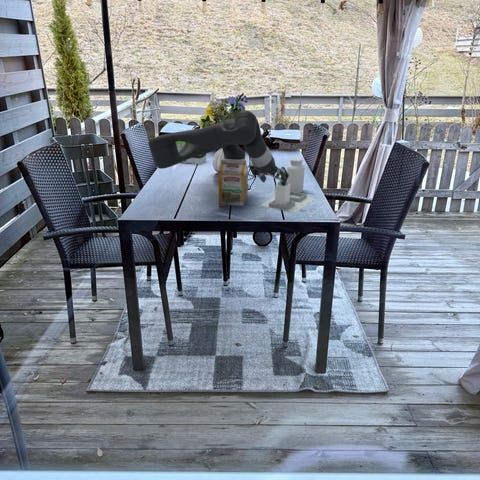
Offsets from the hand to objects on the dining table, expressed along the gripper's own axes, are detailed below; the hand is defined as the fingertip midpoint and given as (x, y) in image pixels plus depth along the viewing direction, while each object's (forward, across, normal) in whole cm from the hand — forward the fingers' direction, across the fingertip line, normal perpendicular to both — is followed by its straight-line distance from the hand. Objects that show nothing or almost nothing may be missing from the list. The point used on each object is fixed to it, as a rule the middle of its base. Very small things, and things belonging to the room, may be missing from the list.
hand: (274, 182), depth 160 cm
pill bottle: (+34, -7, +16) cm, 38 cm away
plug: (+15, -1, -2) cm, 15 cm away
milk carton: (+12, -21, -7) cm, 25 cm away
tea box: (+48, -83, +29) cm, 100 cm away
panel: (+20, -1, +2) cm, 20 cm away
